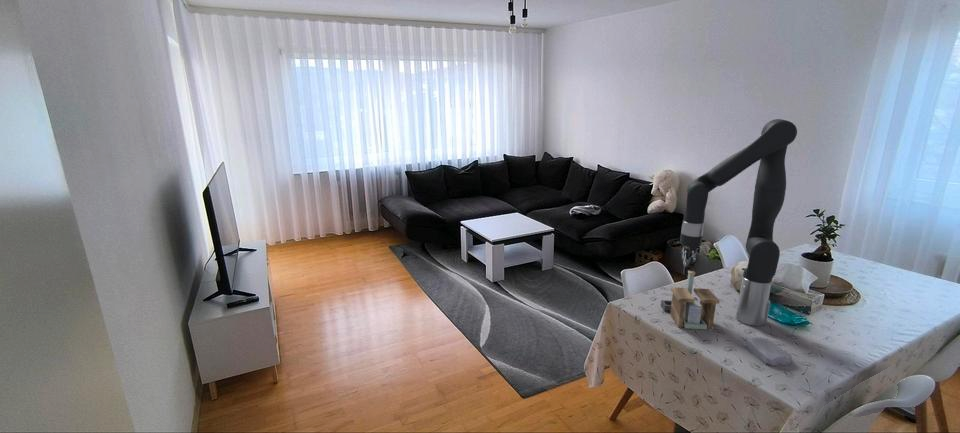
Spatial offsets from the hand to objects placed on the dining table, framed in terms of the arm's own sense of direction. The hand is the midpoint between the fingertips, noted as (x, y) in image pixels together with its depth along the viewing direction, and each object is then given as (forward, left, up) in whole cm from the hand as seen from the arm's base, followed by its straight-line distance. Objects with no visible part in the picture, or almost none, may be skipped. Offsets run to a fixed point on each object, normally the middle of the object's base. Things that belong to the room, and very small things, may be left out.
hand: (686, 274), depth 172 cm
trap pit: (0, 0, -15) cm, 15 cm away
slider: (0, +10, -15) cm, 18 cm away
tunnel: (0, +10, -15) cm, 18 cm away
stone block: (-18, +31, -16) cm, 39 cm away
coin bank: (-35, -26, -15) cm, 46 cm away
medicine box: (0, +10, -15) cm, 18 cm away
